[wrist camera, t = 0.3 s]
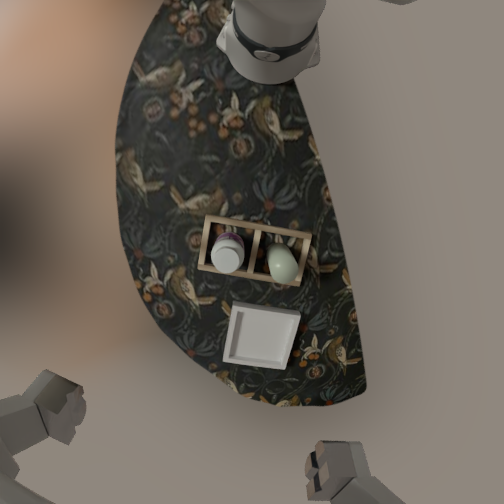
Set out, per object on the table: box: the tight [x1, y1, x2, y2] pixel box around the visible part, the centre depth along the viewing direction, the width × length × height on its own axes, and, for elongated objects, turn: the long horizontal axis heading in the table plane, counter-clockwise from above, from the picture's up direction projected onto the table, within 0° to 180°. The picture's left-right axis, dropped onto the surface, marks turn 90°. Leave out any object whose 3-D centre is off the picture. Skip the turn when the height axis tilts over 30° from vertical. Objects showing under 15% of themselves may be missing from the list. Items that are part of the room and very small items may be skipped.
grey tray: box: [223, 301, 301, 370], centre depth 59 cm, size 13×13×2 cm
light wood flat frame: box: [198, 214, 312, 286], centre depth 55 cm, size 10×19×1 cm, turn 79°
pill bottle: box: [211, 232, 244, 273], centre depth 51 cm, size 5×5×10 cm
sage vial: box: [266, 243, 299, 284], centre depth 52 cm, size 4×4×9 cm
